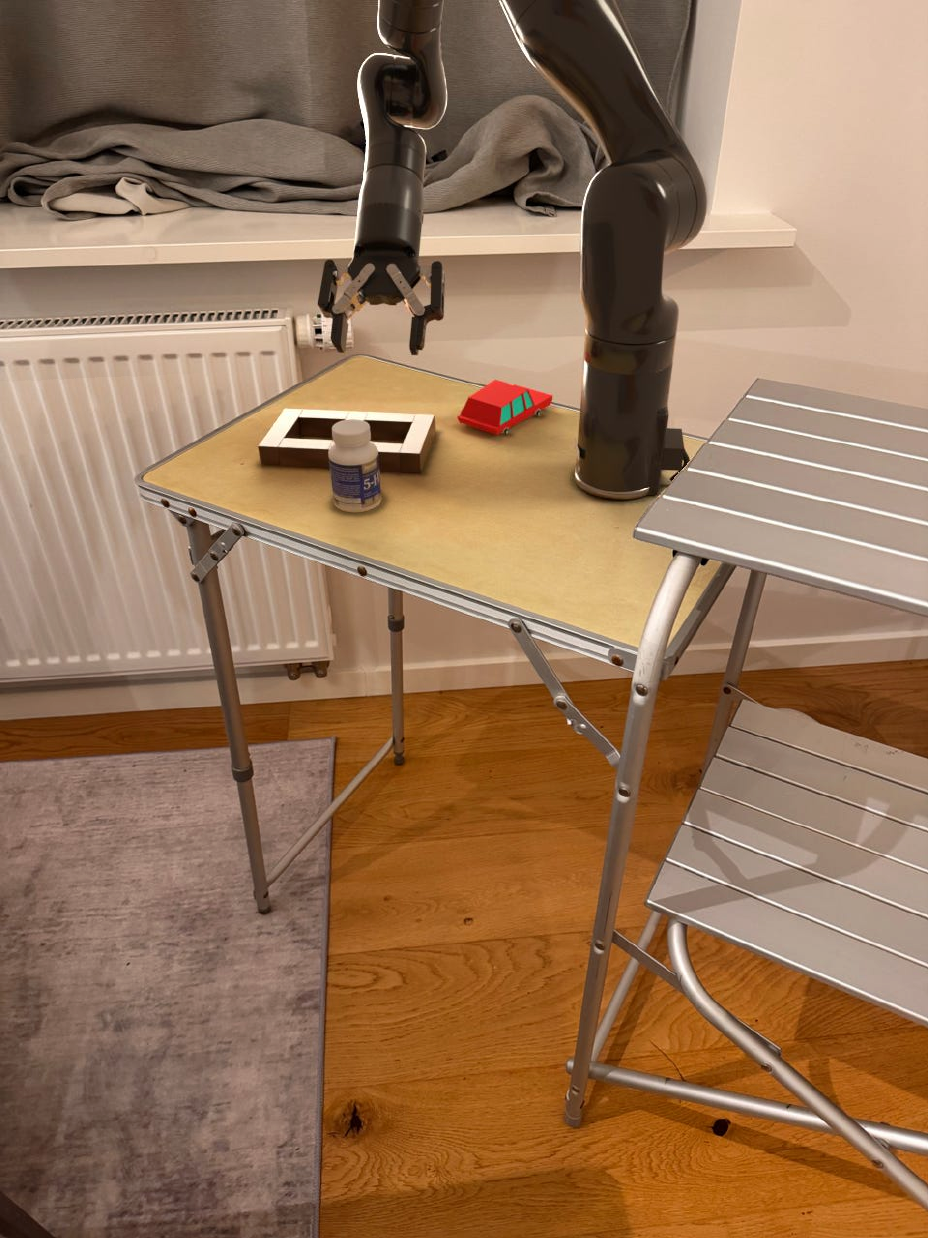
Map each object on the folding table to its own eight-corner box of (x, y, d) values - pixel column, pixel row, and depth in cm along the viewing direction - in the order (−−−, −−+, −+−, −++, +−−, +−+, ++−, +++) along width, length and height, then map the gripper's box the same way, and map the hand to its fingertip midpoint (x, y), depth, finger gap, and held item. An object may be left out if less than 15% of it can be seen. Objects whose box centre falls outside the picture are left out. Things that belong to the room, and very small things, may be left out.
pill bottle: (373, 515, 97) (367, 439, 91) (327, 511, 98) (318, 435, 92) (387, 492, 101) (381, 418, 96) (342, 488, 102) (334, 414, 97)
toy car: (553, 408, 119) (555, 378, 116) (497, 440, 111) (498, 409, 109) (513, 396, 122) (514, 367, 120) (457, 426, 115) (456, 396, 112)
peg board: (435, 433, 113) (434, 414, 112) (420, 473, 104) (419, 453, 103) (287, 426, 115) (284, 408, 114) (261, 465, 107) (257, 445, 105)
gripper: (321, 199, 102) (306, 334, 99) (446, 199, 100) (433, 337, 98) (338, 237, 109) (324, 363, 107) (454, 238, 107) (443, 367, 105)
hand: (376, 351), depth 102 cm, fingers open, 8 cm apart
